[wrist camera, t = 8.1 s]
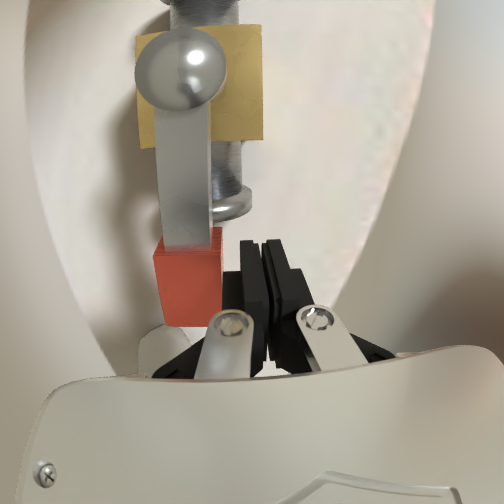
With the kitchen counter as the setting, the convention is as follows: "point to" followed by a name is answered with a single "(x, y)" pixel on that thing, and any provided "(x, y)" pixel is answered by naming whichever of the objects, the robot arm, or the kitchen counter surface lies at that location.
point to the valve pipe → (220, 97)
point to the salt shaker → (160, 348)
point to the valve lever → (185, 170)
